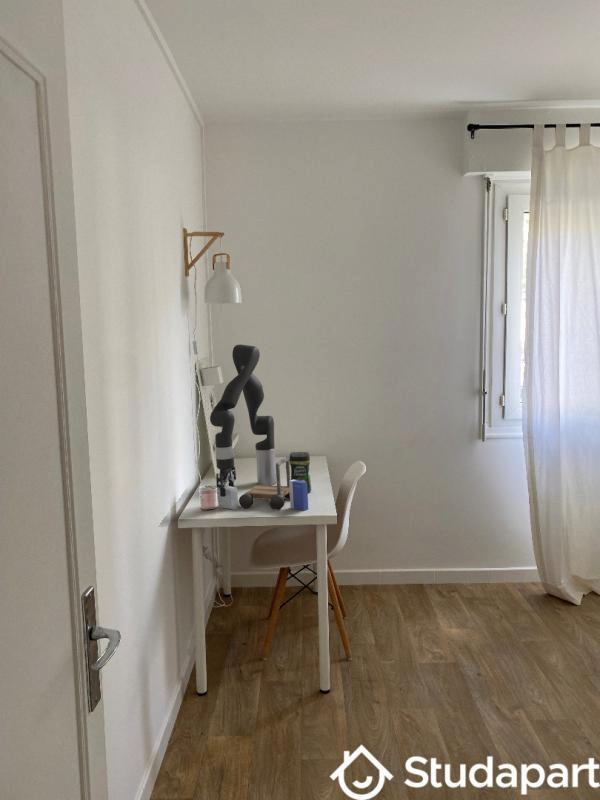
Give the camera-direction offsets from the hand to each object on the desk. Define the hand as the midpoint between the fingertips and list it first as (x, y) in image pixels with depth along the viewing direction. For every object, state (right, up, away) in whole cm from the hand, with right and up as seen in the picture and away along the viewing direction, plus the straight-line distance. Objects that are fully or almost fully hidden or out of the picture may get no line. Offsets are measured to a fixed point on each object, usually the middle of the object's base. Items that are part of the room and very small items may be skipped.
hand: (227, 493), depth 279 cm
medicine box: (0, -6, +1) cm, 6 cm away
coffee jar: (+32, -2, +19) cm, 37 cm away
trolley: (+18, -5, +3) cm, 18 cm away
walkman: (+31, -5, -8) cm, 32 cm away
